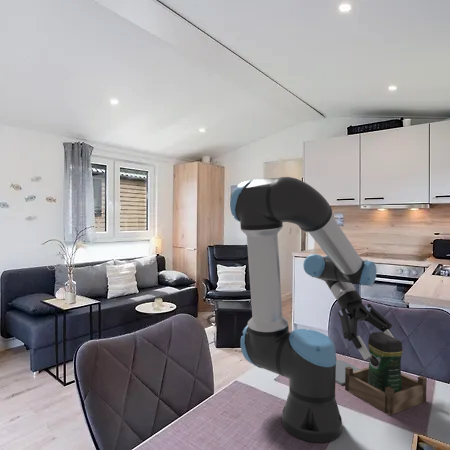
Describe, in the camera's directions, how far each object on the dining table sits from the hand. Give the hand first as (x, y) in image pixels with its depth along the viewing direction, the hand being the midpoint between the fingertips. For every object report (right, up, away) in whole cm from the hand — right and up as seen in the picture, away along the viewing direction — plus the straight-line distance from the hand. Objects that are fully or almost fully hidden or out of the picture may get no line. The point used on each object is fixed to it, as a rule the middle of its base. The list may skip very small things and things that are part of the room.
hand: (383, 354), depth 107 cm
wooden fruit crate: (0, -12, -2) cm, 12 cm away
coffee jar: (0, -12, -2) cm, 12 cm away
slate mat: (-8, -12, +14) cm, 20 cm away
